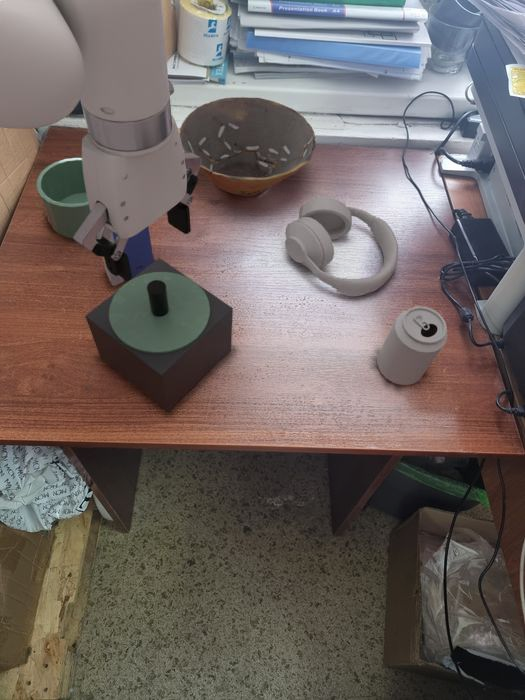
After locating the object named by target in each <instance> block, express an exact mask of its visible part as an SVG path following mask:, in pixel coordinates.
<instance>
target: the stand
mask: <svg viewBox="0 0 525 700" xmlns="http://www.w3.org/2000/svg"><path fill="white" fill-rule="evenodd" d="M154 272H170V273H175V274H179V275H182V276H185V277H187V278H189V279H191V278H190V277H188V276H187V275H185V274H183V272H181V271H180V270H178V269H177V268H175V267H174V266H173V265H171V264H170V263H168V262H166V261H165V260H164V259H162V258H161V257H158V258H157V259H155V260H154V262H153V263H152V264H151V265H149V266H148V267H147V268H145V269H144V270H143V271H142V272H140V273H139V274H138V275H137V276H135V277H133V278H132V279H134V278H136V277H138V276H141V275H144V274H148V273H154ZM132 279H131V280H132ZM195 283H196V284H198V283H197V282H195ZM198 285H199V284H198ZM199 286H200V287H201V288H202V290H203V291H204V292H205V294H206V296H207V298H208V301H209V305H210V317H209V321H208V324H207V326H206V328H205V330H204V331H203V333H202V334H201V335H200V336H199V338H198V339H196V340H195V341H194V342H193V343H191V344H190V345H188V346H186V347H184V348H182V349H180V350H177V351H174V352H169V353H162V354H153V353H145V352H141V351H138V350H135V349H133V348H131V347H129V346H127V345H126V344H124V343H123V342H122V341H121V340H120V339H119V338H118V337H117V336H116V335H115V333H114V331H113V329H112V327H111V324H110V320H109V308H110V304H111V301H112V299H113V297H114V296H115V294H116V293H117V291H118V290H119V289H117V290H116V291H114V292H113V293H112V294H111V295H110V296H108V297H107V298H106V299H104V301H102V302H101V303H100V304H98V305H97V306H96V307H94V308H92V310H90V311H89V312H88V313H87V314H85V316H84V317H85V319H86V322H87V325H88V328H89V330H90V334H91V336H92V338H93V341H94V344H95V346H96V347H95V348H96V349H97V352H98V355H99V357H100V358H99V359H101V360H102V361H103V362H105V364H107V365H108V366H109V367H111V368H112V369H113V370H114V371H116V373H118V374H119V375H121V376H122V377H123V378H124V379H126V381H128V382H129V383H130V384H132V385H133V386H134V387H135V388H136V389H138V390H139V391H141V393H143V394H144V395H145V396H147V397H148V398H149V399H150V400H152V401H153V402H154V403H155V404H157V405H158V406H159V407H161V408H162V409H163V410H164V411H166V412H167V413H170V412H171V411H172V410H173V409H174V408H175V407H176V406H177V405H178V404H179V403H180V402H181V401H182V400H183V399H184V398H185V397H186V396H187V395H188V394H189V393H190V392H191V391H192V390H194V388H195V387H196V386H198V384H199V383H200V382H201V381H202V380H204V378H205V377H206V376H207V375H208V374H209V373H210V372H211V371H212V370H213V369H214V368H215V367H216V366H217V365H218V364H220V362H221V361H222V360H223V359H224V358H225V357H226V356H228V354H229V353H230V352H231V351H232V336H233V335H232V333H233V318H234V317H233V316H234V315H233V314H234V313H233V312H234V308H233V307H232V306H230V305H229V304H227V303H226V302H225V301H223V300H222V299H220V298H218V297H217V296H216V295H214V294H213V293H211V292H210V291H208V290H207V289H205V288H204V287H203V286H201V285H199Z"/></svg>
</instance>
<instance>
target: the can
mask: <svg viewBox="0 0 525 700" xmlns="http://www.w3.org/2000/svg"><path fill="white" fill-rule="evenodd" d="M447 340H448V327H447V322H446V320H445V318H444V317H443V316H442V315H441V314H440V313H439V312H438V311H437V310H435V309H433V308H431V307H429V306H421V305H418V306H417V305H416V306H412V307H410V308H408V309H406V310H404V311H401V313H400V314H399V315H398V316H397V317H396V319H395V320H394V322H393V324H392V326H391V329H390V330H389V332H388V334H387V337H386V339H385V341H384V342H383V344H382V346H381V348H380V350H379V352H378V355H377V357H376V359H377V360H376V361H377V363H376V365H377V367H378V369H379V371H380V373H381V374H382V376H384V378H385V379H387V380H388V381H390V382H392V383H394V384H397V385H401V386H409V385H413V384H416V383H417V382H419V381H420V380H421V378H422V377H423V376H424V375H425V374H426V372H427V371H428V369H429V368H430V366H431V365H432V364H433V362H434V360H435V359H436V358H437V356H438V355H439V353H440V352H441V350H442V349H443V348H444V346H445V345H446V343H447Z"/></svg>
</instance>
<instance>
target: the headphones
mask: <svg viewBox="0 0 525 700" xmlns="http://www.w3.org/2000/svg"><path fill="white" fill-rule="evenodd" d="M353 217H354V218H357V219H358V220H360V221H361V222H363V223H364V224H365V225H367V227H369V230H370V232H371V234H372V235H373V236H374V238H375V240H376V241H377V243H378V245H379V247H380V249H381V251H382V255H383V264H382V266H381V269H380V270H379V271H377V272H376V273H375V274H373V275H371V276H368V277H362V278H347V277H346V278H345V277H342V278H341V277H338V276H334V275H333V274H330V273H328V272H326V271H323V270H321V269H322V268H324V267H326V266H327V265H329V264H330V263H331V262H332V261H333V260H334V255H335V248H334V247H335V246H334V244H333V240H337V239H342V238H343V237H344V236H347V235H348V233H349V232H350V231H351V229H352V225H353ZM284 244H285V249H286V252H287V253H288V255H289V257H291V259H292V260H293V261H295V262H296V263H299V264H301V265H302V266H304V267H306V268H308V269H309V271H310V272H311V273H312V274H313V275H314V276H315V277H316V278H318V280H319V281H321V282H323V283H324V284H326V285H328V286H330V287H332V288H333V289H334V290H336V291H335V292H337V293H339V294H340V295H343V296H347V297H359V296H360V297H361V296H363V295H367V294H370V293H373V292H376V291H377V290H378V289H379V288H381V287H382V286H383V285H385V284H386V282H387V281H388V280H389V279H391V277H392V275H393V273H394V272H395V270H396V268H397V265H398V259H399V244H398V241H397V238H396V235H395V232H394V231H393V229H392V228H391V226H390V224H388V222H386V221H385V220H384V219H382V218H381V217H377V216H376V215H374V214H371V213H369V212H368V211H365V210H364V209H360V208H356V207H350V206H347V205H346V204H345V203H343V202H341V200H338V199H335V198H332V197H327V196H319V197H314V198H311V199H308V200H306V201H305V202H303V203H302V204H301V206H300V207H299V212H298V218H297V219H295V220H293V221H291V222H289V223H288V224H287V225H286V228H285V242H284Z"/></svg>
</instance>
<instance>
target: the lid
mask: <svg viewBox="0 0 525 700" xmlns="http://www.w3.org/2000/svg"><path fill="white" fill-rule="evenodd" d="M185 276H186V275H185ZM185 276H182V275H179V274H175V273H170V272H154V273H148V274H144V275H141V276H138V277H136V278H134V277H133V278H134V279H133V278H132V280H130V281H126V283H124V284H123V285H122V286H121V287H120V288H118V289H117V290H118V291H117V290H116V291H117V293H116V294H115V296H114V297H113V299H112V301H111V304H110V308H109V320H110V324H111V327H112V329H113V331H114V333H115V335H116V336H117V337H118V338H119V339H120V340H121V341H122V342H123V343H124V344H126V345H127V346H129V347H131V348H133V349H135V350H138V351H141V352H145V353H153V354H162V353H169V352H174V351H177V350H180V349H182V348H184V347H186V346H188V345H190V344H191V343H193V342H194V341H195V340H196V339H198V338H199V336H200V335H201V334H202V333H203V331H204V330H205V328H206V326H207V324H208V321H209V317H210V305H209V301H208V298H207V296H206V294H205V292H204V291H203V290H202V288H201V287H202V286H201V285H200V286H201V287H200V286H199V284H198V283H197V282H195V281H194V280H193V279H191V278H190V277H188V276H187V277H188V278H187V277H185ZM189 278H190V279H189ZM196 283H197V284H196Z"/></svg>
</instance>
